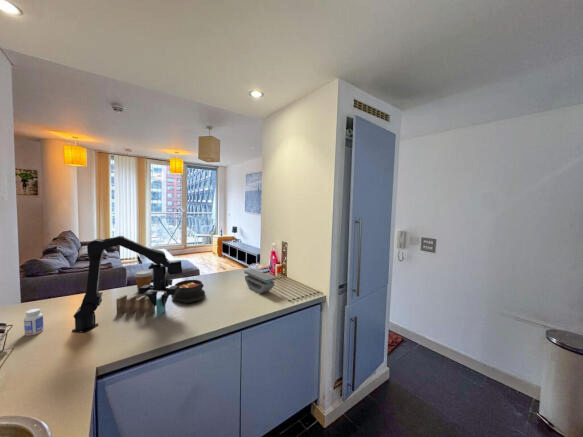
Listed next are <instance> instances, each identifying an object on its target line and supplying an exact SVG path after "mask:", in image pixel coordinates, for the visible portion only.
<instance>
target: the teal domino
mask: <svg viewBox="0 0 583 437" xmlns="http://www.w3.org/2000/svg"><path fill="white" fill-rule="evenodd" d="M155 309H156V316H161V315H162V314H163V313H165V312H166V305H165V306H164V307H163V305H162V298H161V296H160V297H157V300H156V306H155Z"/></svg>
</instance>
